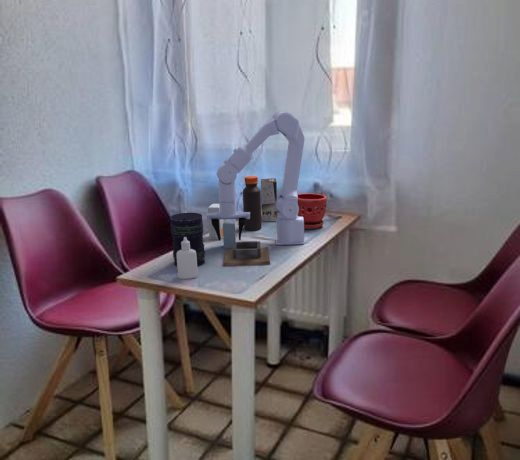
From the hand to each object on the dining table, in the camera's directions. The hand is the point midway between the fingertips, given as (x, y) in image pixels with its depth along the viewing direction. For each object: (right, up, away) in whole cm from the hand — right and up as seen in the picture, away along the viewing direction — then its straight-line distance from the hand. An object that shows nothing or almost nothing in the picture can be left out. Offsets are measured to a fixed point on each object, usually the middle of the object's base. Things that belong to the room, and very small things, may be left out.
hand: (229, 239), depth 163 cm
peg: (0, -2, +1) cm, 2 cm away
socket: (+6, -5, -11) cm, 14 cm away
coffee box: (+14, +8, +34) cm, 38 cm away
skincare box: (-5, 0, +11) cm, 12 cm away
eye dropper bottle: (-10, -10, -25) cm, 29 cm away
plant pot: (+30, +5, +22) cm, 37 cm away
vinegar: (+8, +4, +21) cm, 23 cm away
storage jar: (-12, -7, -14) cm, 19 cm away
